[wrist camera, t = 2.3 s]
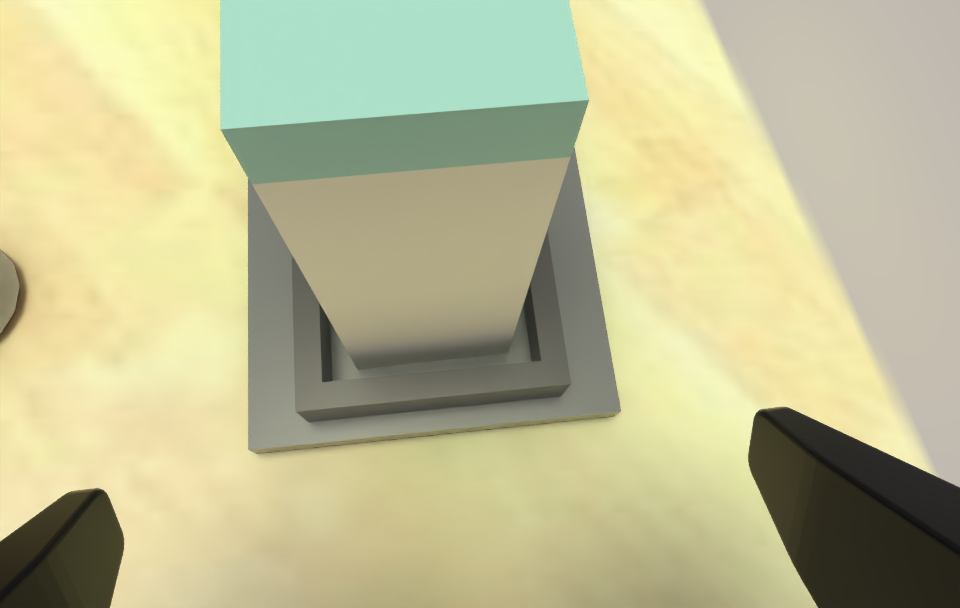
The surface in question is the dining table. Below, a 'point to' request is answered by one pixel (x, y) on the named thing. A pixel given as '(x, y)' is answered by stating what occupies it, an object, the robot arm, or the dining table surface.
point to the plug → (406, 157)
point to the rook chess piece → (7, 290)
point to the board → (429, 385)
